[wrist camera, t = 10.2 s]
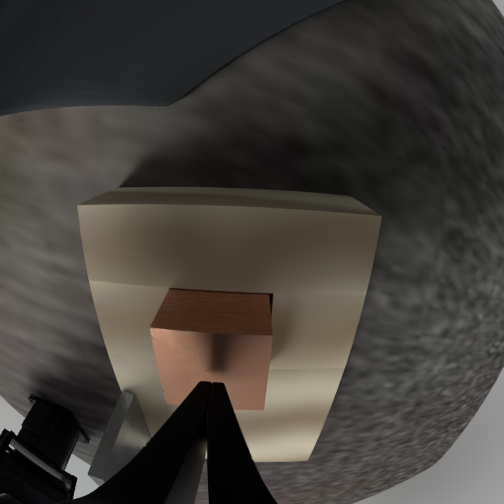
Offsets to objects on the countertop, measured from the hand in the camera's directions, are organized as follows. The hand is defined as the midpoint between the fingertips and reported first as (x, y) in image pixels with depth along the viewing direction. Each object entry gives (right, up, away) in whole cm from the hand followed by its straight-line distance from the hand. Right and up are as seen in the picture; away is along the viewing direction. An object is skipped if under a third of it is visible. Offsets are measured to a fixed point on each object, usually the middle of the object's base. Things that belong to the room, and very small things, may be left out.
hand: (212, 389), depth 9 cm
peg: (0, +3, +7) cm, 7 cm away
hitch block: (0, -1, +8) cm, 8 cm away
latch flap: (-5, -7, +3) cm, 10 cm away
